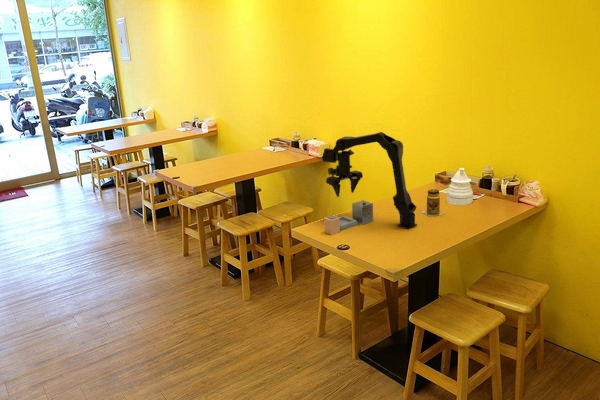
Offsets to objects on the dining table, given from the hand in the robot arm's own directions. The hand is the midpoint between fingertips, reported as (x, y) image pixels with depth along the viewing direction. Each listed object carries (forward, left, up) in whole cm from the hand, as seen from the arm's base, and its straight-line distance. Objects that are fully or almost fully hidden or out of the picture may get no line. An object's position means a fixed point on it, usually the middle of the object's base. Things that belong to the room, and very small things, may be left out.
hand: (345, 194), depth 248 cm
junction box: (-9, -2, -12) cm, 15 cm away
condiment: (-25, -34, -12) cm, 44 cm away
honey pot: (-23, -58, -12) cm, 64 cm away
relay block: (-10, +17, -12) cm, 23 cm away
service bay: (-6, +8, -12) cm, 16 cm away
